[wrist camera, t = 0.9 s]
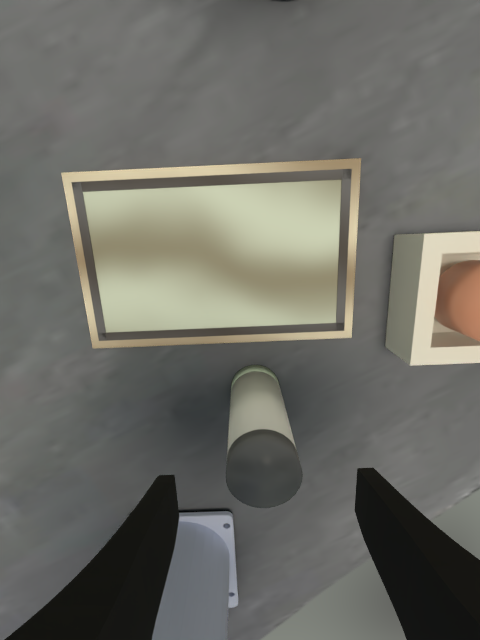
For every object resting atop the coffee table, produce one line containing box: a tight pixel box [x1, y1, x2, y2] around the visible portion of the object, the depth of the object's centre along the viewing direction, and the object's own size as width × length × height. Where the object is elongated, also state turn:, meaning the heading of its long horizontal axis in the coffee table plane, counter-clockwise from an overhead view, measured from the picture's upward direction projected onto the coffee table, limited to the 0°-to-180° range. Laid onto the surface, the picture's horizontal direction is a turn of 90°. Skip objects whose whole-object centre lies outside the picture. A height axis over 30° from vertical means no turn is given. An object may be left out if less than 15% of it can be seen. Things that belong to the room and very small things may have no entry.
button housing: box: [385, 231, 480, 366], centre depth 17 cm, size 7×7×3 cm
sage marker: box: [226, 365, 302, 508], centre depth 17 cm, size 3×3×8 cm
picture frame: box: [62, 158, 361, 348], centre depth 18 cm, size 10×16×1 cm, turn 93°
